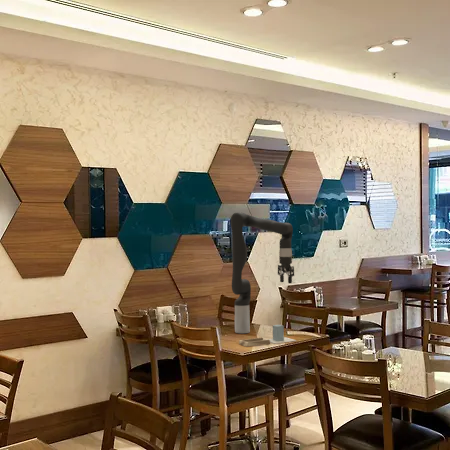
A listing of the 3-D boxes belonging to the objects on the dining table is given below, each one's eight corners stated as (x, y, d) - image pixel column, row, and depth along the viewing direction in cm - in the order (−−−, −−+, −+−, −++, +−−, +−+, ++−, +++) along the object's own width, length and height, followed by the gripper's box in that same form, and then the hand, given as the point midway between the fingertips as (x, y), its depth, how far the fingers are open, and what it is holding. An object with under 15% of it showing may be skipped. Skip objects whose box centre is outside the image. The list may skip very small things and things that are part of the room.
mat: (263, 340, 339) (263, 339, 339) (284, 337, 346) (284, 336, 346) (274, 343, 328) (274, 343, 328) (296, 340, 335) (296, 340, 335)
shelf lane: (239, 344, 329) (239, 340, 329) (262, 341, 337) (261, 337, 337) (246, 346, 322) (246, 342, 322) (269, 343, 329) (269, 339, 329)
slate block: (272, 340, 338) (272, 325, 338) (279, 339, 340) (279, 324, 340) (277, 341, 334) (276, 326, 334) (283, 340, 336) (283, 325, 336)
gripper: (273, 255, 355) (274, 282, 355) (287, 256, 342) (287, 284, 342) (284, 255, 358) (284, 281, 358) (297, 256, 346) (298, 283, 346)
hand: (286, 282), depth 350 cm, fingers open, 8 cm apart
